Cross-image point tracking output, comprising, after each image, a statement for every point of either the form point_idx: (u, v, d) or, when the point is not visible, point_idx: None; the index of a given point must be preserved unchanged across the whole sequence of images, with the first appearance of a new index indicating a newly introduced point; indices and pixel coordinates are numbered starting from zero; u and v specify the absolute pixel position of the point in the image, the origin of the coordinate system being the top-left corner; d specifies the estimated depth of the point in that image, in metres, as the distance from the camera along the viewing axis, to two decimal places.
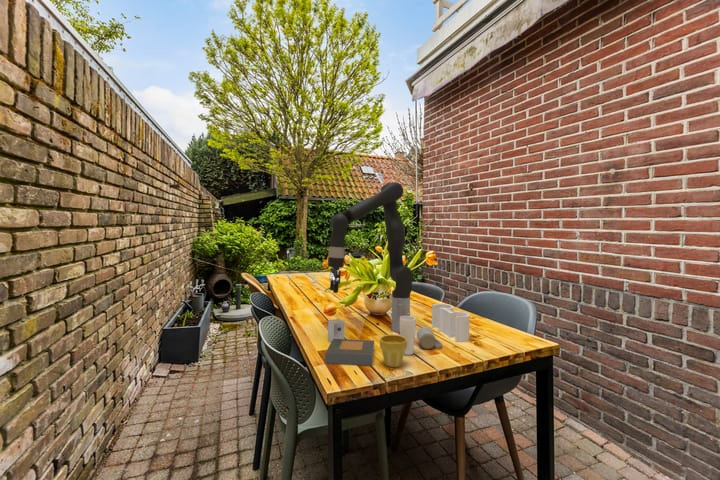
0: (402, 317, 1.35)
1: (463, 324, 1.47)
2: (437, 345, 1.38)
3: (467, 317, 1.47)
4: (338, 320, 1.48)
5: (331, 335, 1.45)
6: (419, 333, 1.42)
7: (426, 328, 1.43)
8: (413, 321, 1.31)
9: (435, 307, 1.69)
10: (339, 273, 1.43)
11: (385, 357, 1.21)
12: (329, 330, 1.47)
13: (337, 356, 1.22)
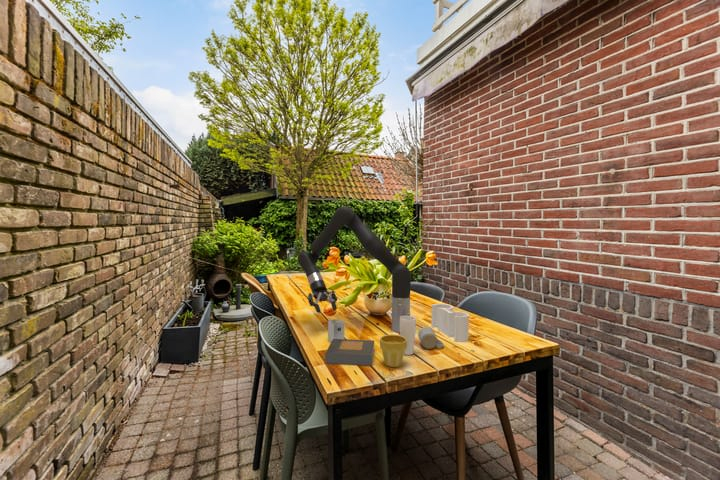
0: (402, 317, 1.35)
1: (462, 324, 1.47)
2: (439, 345, 1.38)
3: (466, 317, 1.47)
4: (338, 320, 1.48)
5: (331, 335, 1.45)
6: (421, 333, 1.41)
7: (428, 328, 1.43)
8: (413, 321, 1.31)
9: (435, 307, 1.69)
10: (309, 296, 1.54)
11: (385, 357, 1.21)
12: (329, 330, 1.47)
13: (337, 356, 1.22)
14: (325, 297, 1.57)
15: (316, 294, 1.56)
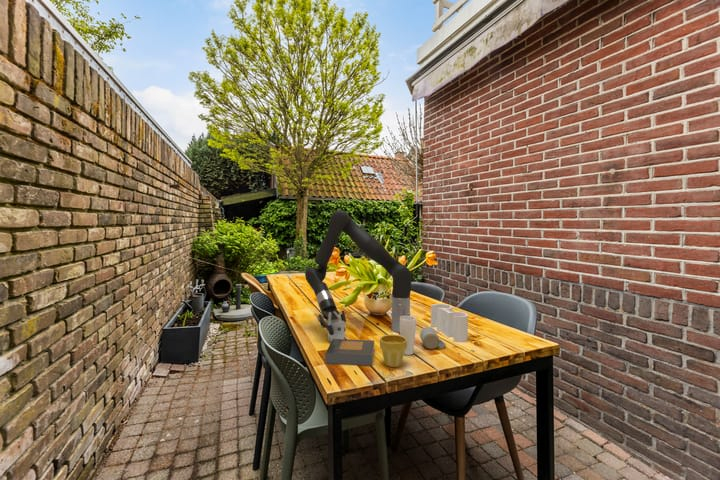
0: (402, 317, 1.35)
1: (461, 324, 1.47)
2: (441, 345, 1.38)
3: (465, 317, 1.47)
4: (338, 320, 1.48)
5: (331, 335, 1.45)
6: (422, 333, 1.41)
7: (429, 328, 1.43)
8: (413, 321, 1.31)
9: (434, 307, 1.69)
10: (319, 317, 1.46)
11: (385, 357, 1.21)
12: None
13: (337, 356, 1.22)
14: (334, 317, 1.49)
15: (326, 314, 1.48)
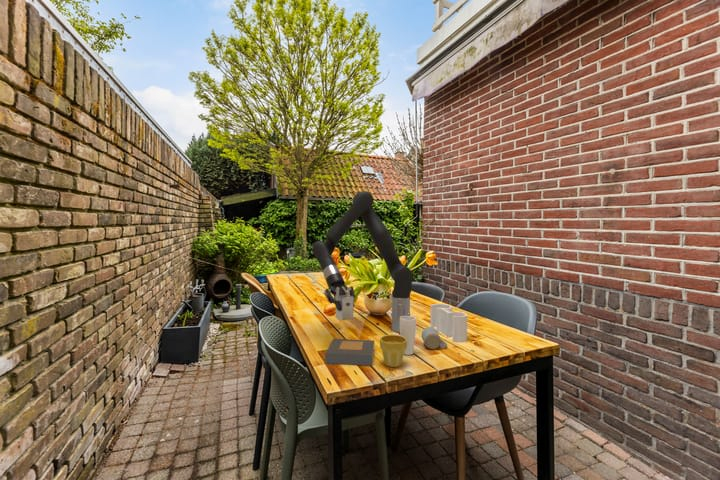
0: (402, 317, 1.35)
1: (461, 324, 1.47)
2: (442, 345, 1.38)
3: (465, 317, 1.47)
4: (346, 295, 1.38)
5: (339, 311, 1.35)
6: (424, 333, 1.41)
7: (431, 328, 1.43)
8: (413, 321, 1.31)
9: (434, 307, 1.69)
10: (326, 292, 1.36)
11: (385, 357, 1.21)
12: None
13: (337, 356, 1.22)
14: (342, 292, 1.39)
15: (333, 289, 1.38)
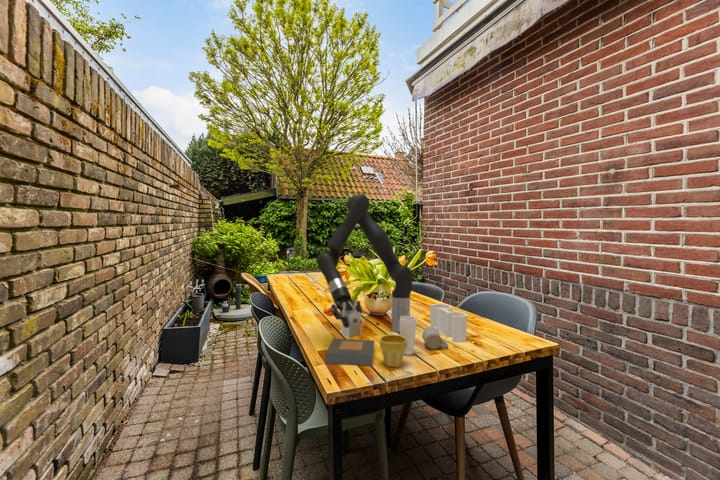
0: (402, 317, 1.35)
1: (460, 324, 1.47)
2: (443, 345, 1.38)
3: (464, 317, 1.47)
4: (353, 311, 1.31)
5: (346, 328, 1.29)
6: (425, 333, 1.41)
7: (432, 328, 1.43)
8: (413, 321, 1.31)
9: (433, 307, 1.69)
10: (332, 308, 1.30)
11: (385, 357, 1.21)
12: None
13: (337, 356, 1.22)
14: (349, 307, 1.33)
15: (340, 304, 1.32)
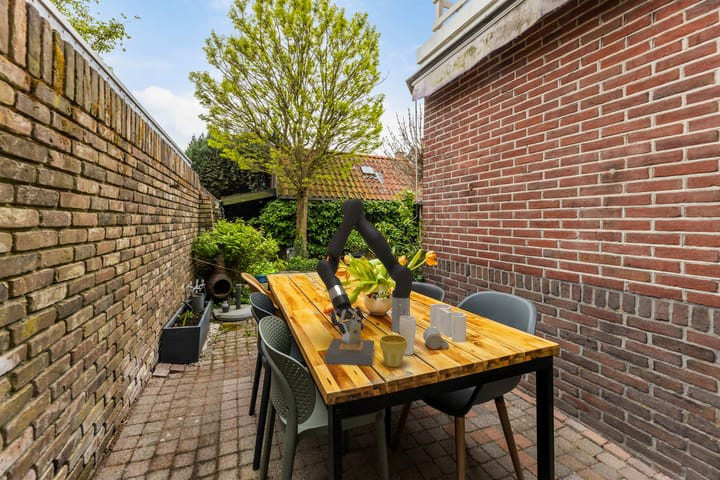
0: (402, 317, 1.35)
1: (460, 324, 1.47)
2: (444, 345, 1.38)
3: (464, 317, 1.47)
4: (353, 321, 1.32)
5: (346, 339, 1.29)
6: (426, 333, 1.41)
7: (433, 328, 1.43)
8: (413, 321, 1.31)
9: (433, 307, 1.69)
10: (331, 314, 1.30)
11: (385, 357, 1.21)
12: None
13: (337, 356, 1.22)
14: (350, 315, 1.33)
15: (339, 311, 1.32)
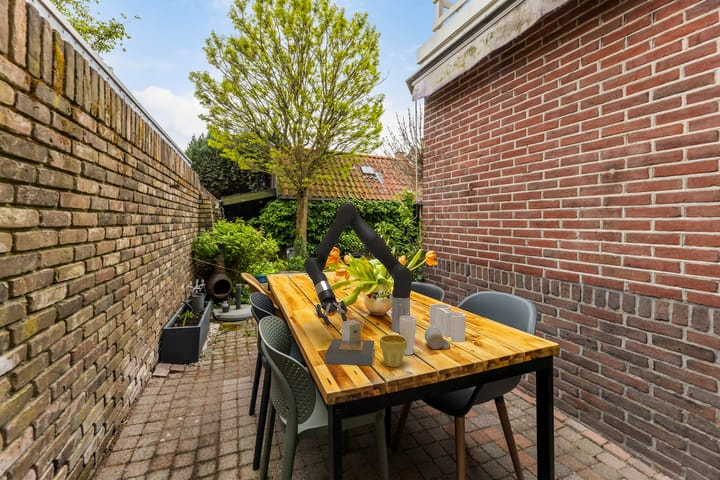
0: (402, 317, 1.35)
1: (459, 324, 1.47)
2: (445, 345, 1.38)
3: (463, 317, 1.47)
4: (353, 321, 1.32)
5: (346, 339, 1.29)
6: (427, 333, 1.41)
7: (434, 328, 1.43)
8: (413, 321, 1.31)
9: (433, 307, 1.69)
10: (317, 307, 1.41)
11: (385, 357, 1.21)
12: (343, 332, 1.31)
13: (337, 356, 1.22)
14: (334, 308, 1.44)
15: (325, 305, 1.43)
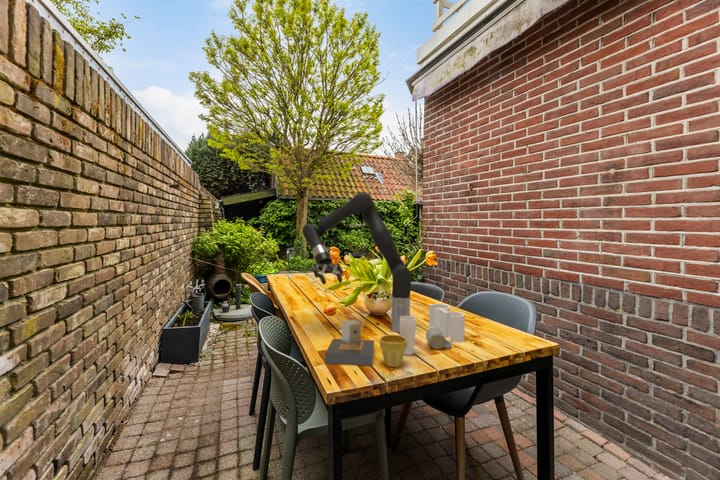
0: (402, 317, 1.36)
1: (458, 324, 1.47)
2: (447, 345, 1.38)
3: (462, 317, 1.47)
4: (353, 321, 1.32)
5: (346, 339, 1.29)
6: (429, 333, 1.41)
7: (435, 328, 1.43)
8: (413, 321, 1.31)
9: (432, 307, 1.69)
10: (314, 267, 1.50)
11: (385, 357, 1.21)
12: (343, 332, 1.31)
13: (337, 356, 1.22)
14: (330, 269, 1.53)
15: (321, 266, 1.52)
